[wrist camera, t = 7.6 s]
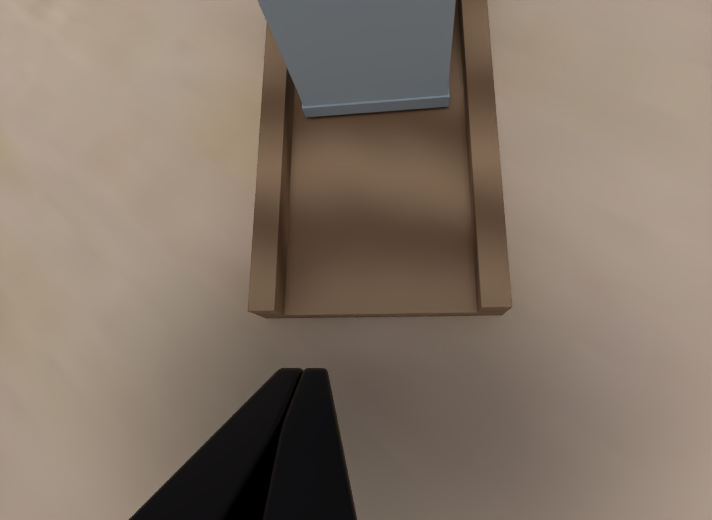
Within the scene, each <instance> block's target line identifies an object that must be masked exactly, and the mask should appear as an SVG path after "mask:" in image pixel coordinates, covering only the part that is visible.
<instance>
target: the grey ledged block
mask: <svg viewBox="0 0 712 520" xmlns="http://www.w3.org/2000/svg"><path fill="white" fill-rule="evenodd" d="M258 2H259V4H260V7H261V9H262V11H263V14H264V16H265V18H266V21H267V23H268V25H269V27H270V30H271V32H272V34H273V37H274V39H275V41H276V44H277V46H278V48H279V50H280V53H281V55H282V57H283V60H284V62H285V64H286V67H287V69H288V71H289V73H290V76H291V78H292V80H293V83H294V85H295V87H296V89H297V92H298V94H299V96H300V99H301V101H302V110H303V112H304V114H305V117H317V116H330V115H343V114H357V113H370V112H383V111H397V110H410V109H423V108H437V107H449V99H450V94H449V71H450V60H451V48H452V37H453V25H454V13H455V2H456V0H258Z"/></svg>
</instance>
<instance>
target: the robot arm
mask: <svg viewBox="0 0 712 520" xmlns="http://www.w3.org/2000/svg"><path fill="white" fill-rule="evenodd" d="M129 520H357V516H356V511H355V506H354V501H353V496H352V491H351V486H350V481H349V476H348V471H347V466H346V461H345V456H344V451H343V446H342V441H341V436H340V431H339V426H338V421H337V416H336V411H335V405H334V400H333V395H332V390H331V385H330V380H329V375H328V371H327V370H326V369H325V368H306V369H305V370H304V371H303V370H302V369H301V368H281V369H279V370H278V371H276V372H275V373H274V374H273V375H272V377H271V378H270V379H269V380H268V381H267V382H266V383H265V384H264V385H263V386H262V387H261V388H260V389H259V390H258V391H257V392H256V393H255V394H254V395H253V396H252V397H251V398H250V399H249V400H248V401H247V402H246V403H245V404H244V405H243V406H242V407H241V408H240V409H239V410H238V411H237V412H236V413H235V414H234V415H233V416H232V417H231V418H230V419H229V420H228V421H227V422H226V423H225V424H224V425H223V426H222V427H221V428H220V429H219V430H218V431H217V432H216V433H215V434H214V435H213V436H212V437H211V438H210V439H209V440H208V441H207V442H206V443H205V444H204V445H203V446H202V447H201V448H200V449H199V450H198V451H197V452H196V453H195V454H194V455H193V456H192V457H191V458H190V459H189V460H188V461H187V462H186V463H185V464H184V465H183V466H182V467H181V468H180V469H179V470H178V471H177V472H176V473H175V474H174V475H173V476H172V477H171V478H170V479H169V480H168V481H167V482H166V483H165V484H164V485H163V486H162V487H161V488H160V489H159V490H158V491H157V492H156V493H155V494H154V495H153V496H152V497H151V498H150V499H149V500H148V501H147V502H146V503H145V504H144V505H143V506H142V507H141V508H140V509H139V510H138V511H137V512H136V513H135V514H134V515H133V516H132V517H131V518H130V519H129Z"/></svg>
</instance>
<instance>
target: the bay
mask: <svg viewBox="0 0 712 520" xmlns="http://www.w3.org/2000/svg"><path fill="white" fill-rule="evenodd" d="M449 94H450V99H449V107H437V108H423V109H410V110H397V111H383V112H370V113H357V114H343V115H330V116H317V117H305V114H304V112H303V110H302V101H301V99H300V96H299V94H298V92H297V89H296V87H295V85H294V83H293V80H292V78H291V76H290V73H289V71H288V69H287V67H286V64H285V62H284V60H283V57H282V55H281V53H280V50H279V48H278V46H277V44H276V41H275V39H274V37H273V34H272V32H271V30H270V27H269V25H268V23H267V27H266V42H265V58H264V73H263V88H262V103H261V118H260V133H259V149H258V164H257V179H256V194H255V209H254V224H253V240H252V255H251V270H250V285H249V300H248V311H249V312H252V313H254V314H257V315H259V316H262V317H265V318H324V317H401V316H477V315H503V314H504V313H505V312H506V311H507V310H509V309H510V308H511V307H512V301H511V289H510V277H509V264H508V252H507V240H506V228H505V215H504V203H503V191H502V178H501V166H500V154H499V142H498V129H497V117H496V105H495V93H494V80H493V68H492V56H491V43H490V31H489V19H488V7H487V0H456V2H455V13H454V25H453V37H452V48H451V60H450V71H449Z"/></svg>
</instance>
